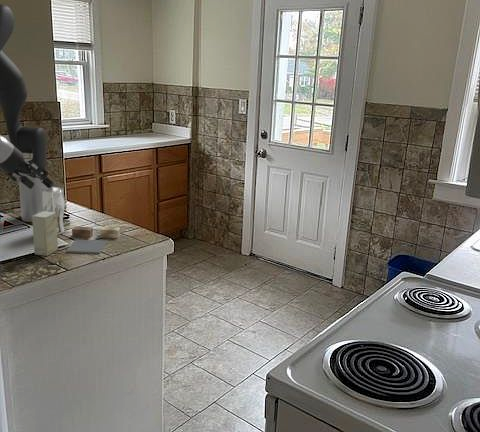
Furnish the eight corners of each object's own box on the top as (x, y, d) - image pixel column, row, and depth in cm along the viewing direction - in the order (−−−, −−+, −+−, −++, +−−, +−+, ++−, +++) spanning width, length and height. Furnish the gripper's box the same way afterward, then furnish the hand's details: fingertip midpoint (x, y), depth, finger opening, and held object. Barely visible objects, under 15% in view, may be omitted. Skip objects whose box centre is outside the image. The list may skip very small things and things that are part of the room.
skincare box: (47, 256, 144) (44, 217, 141) (33, 254, 145) (31, 216, 141) (58, 249, 150) (56, 211, 146) (45, 247, 151) (43, 210, 147)
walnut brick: (72, 237, 161) (71, 229, 160) (75, 234, 164) (74, 226, 163) (90, 238, 161) (89, 230, 160) (92, 235, 164) (92, 227, 163)
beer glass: (55, 227, 169) (53, 185, 164) (70, 231, 166) (68, 188, 162) (39, 232, 163) (36, 189, 158) (54, 236, 160) (52, 193, 156)
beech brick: (100, 237, 162) (100, 229, 161) (102, 234, 165) (102, 226, 164) (118, 238, 163) (118, 230, 162) (120, 235, 165) (120, 227, 164)
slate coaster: (75, 241, 157) (75, 239, 157) (106, 242, 158) (106, 240, 158) (66, 252, 148) (66, 250, 148) (99, 253, 149) (99, 252, 148)
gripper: (25, 141, 137) (63, 175, 149) (-8, 144, 143) (31, 177, 155) (12, 162, 133) (52, 195, 145) (-21, 164, 140) (20, 196, 152)
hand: (41, 186), depth 150 cm, fingers open, 8 cm apart
